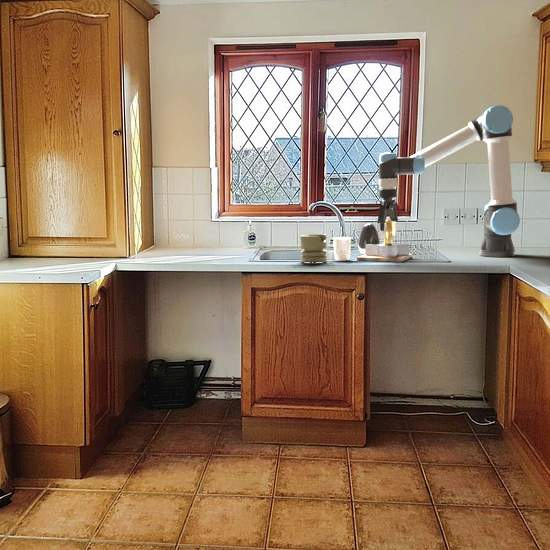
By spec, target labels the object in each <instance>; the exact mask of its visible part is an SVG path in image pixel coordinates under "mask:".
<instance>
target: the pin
mask: <svg viewBox="0 0 550 550" xmlns="http://www.w3.org/2000/svg"><path fill="white" fill-rule="evenodd" d="M385 223H386V238H383V244H384V245H387V246H388V245H392V244H393V236H392V220H390V219H386V222H385Z"/></svg>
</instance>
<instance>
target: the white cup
mask: <svg viewBox="0 0 550 550" xmlns="http://www.w3.org/2000/svg"><path fill="white" fill-rule="evenodd" d="M332 240H333V253H334V260H335V261H337V262H339V261H340V262H346V260H347V261H350V259H351V249H352V246H351V245H352V238H351V237H349V236H339V237H336V236H335V237H333V238H332Z"/></svg>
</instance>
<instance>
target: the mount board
mask: <svg viewBox="0 0 550 550" xmlns="http://www.w3.org/2000/svg"><path fill="white" fill-rule="evenodd" d="M412 256H413V255H412V254H411V253H409V255H400V256H397V257H378V256H366V254H365V255H363V254H361V255H360V256H359V255H358V256H357V257H356V261H358V260H368V261H367V262H386V261H391V263H393V262H395V263H402V262H405V261H406V260H410V259H412Z"/></svg>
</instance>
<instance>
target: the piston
mask: <svg viewBox="0 0 550 550" xmlns="http://www.w3.org/2000/svg"><path fill="white" fill-rule="evenodd" d="M327 246H328V245H327V234H323V233H321V234H320V233H319V234H318V233H314V234H313V233H309V234H308V235H301V234H300V249H301V251H300V255H301V256H300V263H301V262H310V263H312V262H313V263H316V262H326V263H327V261H328V258H327V253H328V252H327V250H325V249H327Z"/></svg>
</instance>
